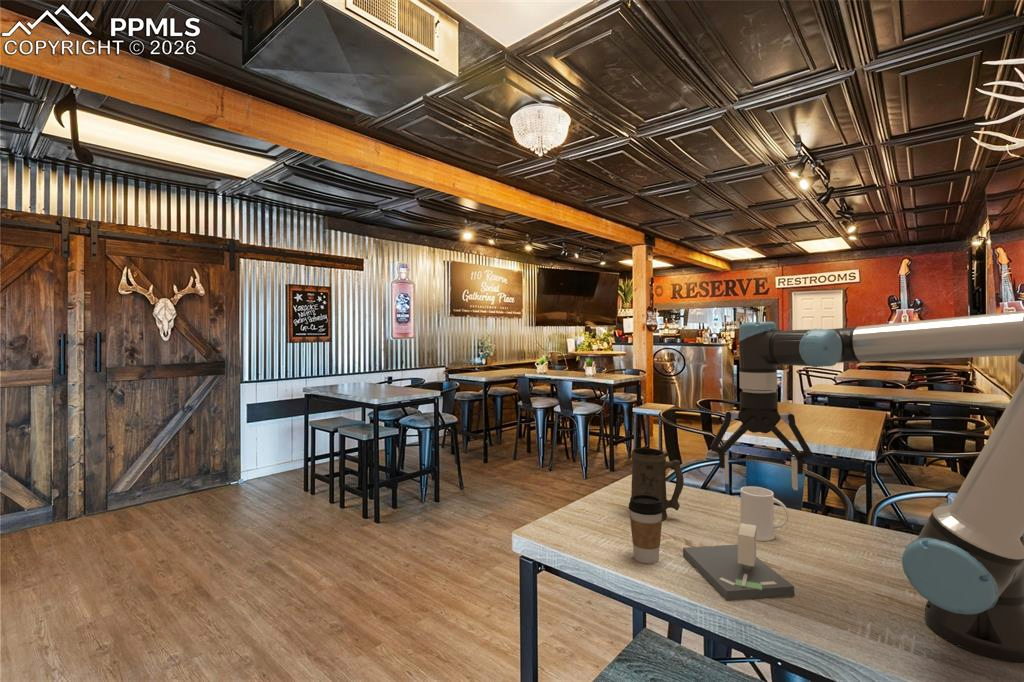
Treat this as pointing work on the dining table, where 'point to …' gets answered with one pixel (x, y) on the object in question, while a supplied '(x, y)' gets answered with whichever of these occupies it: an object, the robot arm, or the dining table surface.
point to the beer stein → (655, 476)
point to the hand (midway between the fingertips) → (760, 485)
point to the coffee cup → (646, 527)
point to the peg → (746, 548)
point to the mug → (760, 511)
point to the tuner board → (736, 573)
